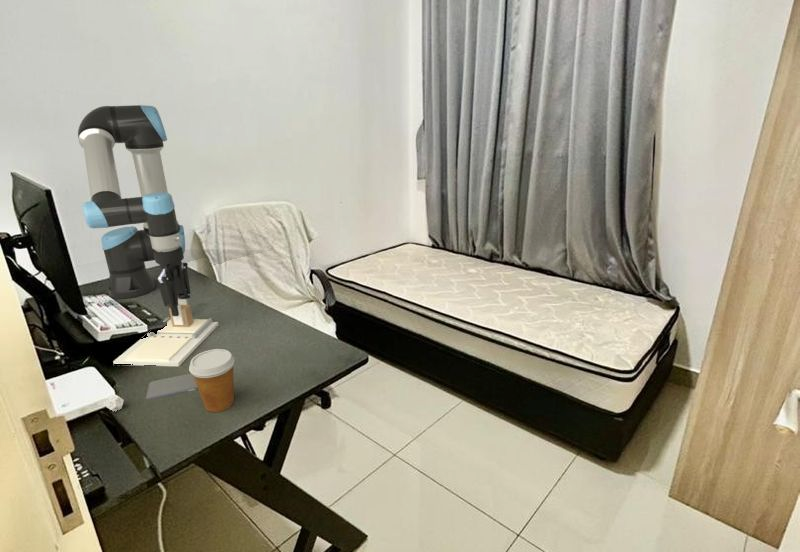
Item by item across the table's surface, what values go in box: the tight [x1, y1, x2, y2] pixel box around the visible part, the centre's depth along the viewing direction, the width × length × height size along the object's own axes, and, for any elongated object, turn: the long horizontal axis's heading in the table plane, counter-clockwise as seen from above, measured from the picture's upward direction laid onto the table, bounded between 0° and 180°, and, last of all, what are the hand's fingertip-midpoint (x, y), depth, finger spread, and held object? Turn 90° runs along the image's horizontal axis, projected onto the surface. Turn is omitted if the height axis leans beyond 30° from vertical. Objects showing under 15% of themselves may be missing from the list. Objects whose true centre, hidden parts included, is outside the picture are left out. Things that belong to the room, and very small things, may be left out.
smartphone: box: [145, 372, 198, 400], centre depth 113 cm, size 8×1×15 cm
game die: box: [105, 394, 125, 413], centre depth 104 cm, size 4×4×3 cm
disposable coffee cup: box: [188, 348, 236, 413], centre depth 104 cm, size 10×10×12 cm
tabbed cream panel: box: [157, 304, 209, 333], centre depth 138 cm, size 8×12×7 cm, turn 86°
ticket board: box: [112, 316, 220, 367], centre depth 132 cm, size 24×18×2 cm
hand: (182, 321), depth 139 cm, fingers closed on tabbed cream panel, 3 cm apart
